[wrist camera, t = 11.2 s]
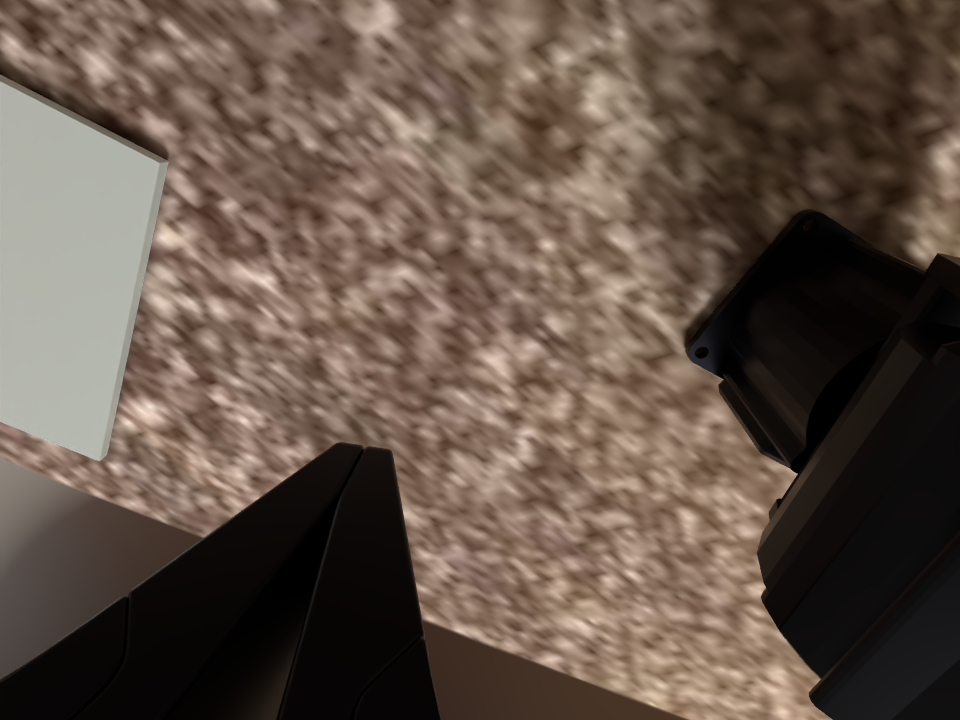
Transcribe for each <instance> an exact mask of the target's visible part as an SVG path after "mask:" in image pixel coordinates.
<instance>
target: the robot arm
mask: <svg viewBox="0 0 960 720" xmlns="http://www.w3.org/2000/svg"><path fill="white" fill-rule="evenodd" d="M811 219H813V225H812V227H811V228H810V229H809V230H807V231H803V226H804V225H805V223H806V222H807V221H809V220H811ZM700 347H705V350H704V351H703V352H702V353H699V354H696V353H695V352H696V350H697V349H698V348H700ZM685 351H686V354H687V356H688V357H689V359H690V360H691V361H692V362H693V363H695V364H697V365H699V366H700V367H702V368H704V369H706V370H708V371H709V372H711V373H713V374H715V375H717V376H719V377H720V378H722V379H724V380H723V381H722V382H721V383H720V384H719V385H718V386H719V393H720V394H721V396H722V397H723V399H724V400H725V402H726V403H727V405H728V406H729V408H730V409H731V411H732V412H733V414H734V415H735V416H736V418H737V419H738V421H739V422H740V424H741V425H742V427H743V428H744V430H745V431H746V433H747V434H748V436H749V437H750V439H751V440H752V442H753V443H754V445H755V446H756V448H757V449H758V451H759V452H760V453H761V454H763V455H765V456H767V457H769V458H771V459H773V460H775V461H776V462H778V463H780V464H782V465H784V466H786V467H788V468H790V469H791V470H792V471H793V472H795V473H797V474H798V475H797V476H796V478H795V479H794V481H793V482H792V484H791V485H790V487H789V488H788V490H787V491H786V493H785V495H784V496H783V498H782V499H777V500H776V501H775V503H774V505H773V506H772V508H771V509H770V511H769V519H770V522H769V523H768V525H767V526H766V528H765V529H764V531H763V533H762V536H761V540H760V543H759V547H758V551H757V555H758V560H759V564H760V569H761V573H762V578H763V582H764V584H765V586H766V589H765V590H764V591H763V593H762V596H761V598H762V602H763V604H764V606H765V607H766V609H767V611H768V612H769V614H770V616H771V618H772V619H773V621H774V623H775V624H776V626H777V628H778V629H779V631H780V632H781V634H782V635H783V637H784V638H785V639H786V641H787V642H788V643H789V644H790V645H791V647H792V648H793V649H794V650H795V652H796V653H797V654H798V655H799V657H800V658H801V659H802V660H803V662H804V663H805V664H806V665H807V666H808V667H809V668H810V669H811V670H812V671H813V672H814V673H815V674H816V675H817V676H818V677H819V678H820V679H821V680H820V681H819V682H818V683H817V684H816V685H815V686H814V688H813V689H812V690H811V691H810V692H809V697H810V700H811V702H812V703H813V704H814V705H815V706H816V707H817V708H818V709H819V710H821V711H822V712H823V713H825V714H826V715H827V716H829V717H830V718H831V719H833V720H960V258H959V257H954V256H949V255H945V254H940V253H937V255H936V256H935V258H934V259H933V261H932V263H931V264H930V266H929V267H928V269H927V270H925V269H922V268H920V267H918V266H915V265H913V264H911V263H909V262H906V261H904V260H902V259H900V258H897V257H895V256H893V255H891V254H888V253H886V252H884V251H882V250H879V249H877V248H875V247H874V246H872V245H871V244H869V243H867V242H866V241H864V240H863V239H861V238H860V237H858V236H857V235H855V234H854V233H852V232H851V231H849V230H847V229H846V228H844V227H843V226H841V225H840V224H838V223H837V222H835V221H834V220H832V219H831V218H829V217H827V216H826V215H824V214H823V213H820V212H818V211H815V210H812V209H807V210H803V211H801V212H799V213H798V214H797V215H795V216H794V217H793V219H792V220H791V221H790V222H789V223H788V225H787V226H786V227H785V228H784V229H783V230H782V232H781V233H780V234H779V235H778V236H777V238H776V239H775V240H774V241H773V242H772V244H771V245H770V246H769V247H768V248H767V249H766V251H765V252H764V253H763V254H762V255H761V257H760V258H759V259H758V260H757V261H756V263H755V264H754V265H753V266H752V267H751V268H750V270H749V271H748V272H747V273H746V274H745V276H744V277H743V278H742V279H741V280H740V281H739V283H738V284H737V285H736V286H735V287H734V289H733V290H732V291H731V292H730V293H729V295H728V296H727V297H726V298H725V299H724V300H723V302H722V303H721V304H720V305H719V306H718V308H717V309H716V310H715V311H714V312H713V314H712V315H711V316H710V317H709V318H708V319H707V321H706V322H705V323H704V324H703V325H702V327H701V328H700V329H699V330H698V331H697V333H696V334H695V335H694V336H693V337H692V338H691V340H690V341H689V342H688V344H687V345H686V349H685ZM424 636H425V634H424V628H423V622H422V617H421V611H420V605H419V600H418V594H417V588H416V583H415V577H414V571H413V566H412V560H411V554H410V549H409V543H408V537H407V532H406V526H405V520H404V515H403V509H402V503H401V498H400V492H399V486H398V481H397V475H396V470H395V464H394V458H393V453H392V451H391V450H389V449H384V448H377V447H371V446H369V447H366V448H365V449H364V447H363V446H362V445H357V444H351V443H344V442H339V443H336V444H334V445H333V446H332V447H330V448H329V449H327V450H326V451H325V452H323V453H322V454H320V455H319V456H318V457H316V458H315V459H313V460H312V461H311V462H309V463H308V464H306V465H305V466H304V467H302V468H301V469H299V470H298V471H297V472H295V473H294V474H292V475H291V476H290V477H288V478H287V479H285V480H284V481H283V482H281V483H280V484H278V485H277V486H276V487H274V488H273V489H272V490H270V491H269V492H267V493H266V494H265V495H263V496H262V497H260V498H259V499H258V500H256V501H255V502H253V503H252V504H251V505H249V506H248V507H246V508H245V509H244V510H242V511H241V512H239V513H238V514H237V515H235V516H234V517H232V518H231V519H230V520H228V521H227V522H225V523H224V524H223V525H221V526H220V527H218V528H217V529H216V530H214V531H213V532H211V533H210V534H209V535H207V536H206V537H204V538H203V539H202V540H200V541H199V542H197V543H196V544H195V545H193V546H192V547H191V548H189V549H188V550H187V551H185V552H184V553H182V554H181V555H179V556H178V557H177V558H175V559H174V560H172V561H171V562H170V563H168V564H167V565H165V566H164V567H163V568H161V569H160V570H158V571H157V572H156V573H154V574H153V575H152V576H150V577H149V578H147V579H146V580H144V581H143V582H142V583H140V584H139V585H137V586H136V587H135V588H133V589H132V590H131V591H130V592H129V595H128V597H127V596H122V597H120V598H119V599H117V600H116V601H115V602H113V603H112V604H110V605H109V606H108V607H106V608H105V609H103V610H102V611H101V612H99V613H98V614H97V615H95V616H94V617H93V618H91V619H90V620H88V621H87V622H85V623H84V624H82V625H81V626H79V627H78V628H77V629H75V630H73V631H72V632H71V633H69V634H68V635H66V636H65V637H64V638H62V639H61V640H59V641H57V642H56V643H55V644H53V645H52V646H50V647H49V648H47V649H46V650H45V651H43V652H42V653H40V654H39V655H37V656H36V657H34V658H33V659H31V660H30V661H28V662H26V663H25V664H23V665H22V666H20V667H19V668H17V669H15V670H14V671H12V672H11V673H9V674H8V675H6V676H5V677H3V678H1V679H0V720H442V718H441V714H440V709H439V704H438V699H437V695H436V690H435V685H434V681H433V676H432V671H431V666H430V661H429V655H428V649H427V643H426V640H425V639H424Z"/></svg>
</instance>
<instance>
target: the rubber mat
mask: <svg viewBox="0 0 960 720" xmlns="http://www.w3.org/2000/svg"><path fill="white" fill-rule="evenodd" d="M168 163H169V161H167V160H165V159H163V158H161V157H159V156H157V155H156V154H154V153H152V152H150V151H148V150H146V149H144V148H142V147H140V146H138V145H136V144H134V143H132V142H130V141H128V140H126V139H124V138H123V137H121V136H119V135H117V134H115V133H113V132H111V131H109V130H107V129H105V128H103V127H101V126H99V125H97V124H95V123H93V122H92V121H90V120H88V119H86V118H84V117H82V116H80V115H78V114H76V113H74V112H72V111H70V110H68V109H66V108H64V107H62V106H60V105H59V104H57V103H55V102H53V101H51V100H49V99H47V98H45V97H43V96H41V95H39V94H37V93H35V92H33V91H31V90H29V89H27V88H26V87H24V86H22V85H20V84H18V83H16V82H14V81H12V80H10V79H8V78H6V77H4V76H2V75H0V422H2V423H4V424H7V425H9V426H12V427H14V428H17V429H19V430H22V431H25V432H27V433H30V434H32V435H35V436H37V437H40V438H42V439H45V440H47V441H50V442H52V443H55V444H57V445H60V446H62V447H65V448H67V449H70V450H72V451H75V452H77V453H80V454H82V455H85V456H87V457H90V458H92V459H95V460H98V461H100V460H102V459H103V458H104V457H105V456H106V455H107V452H108V448H109V443H110V438H111V433H112V429H113V424H114V419H115V414H116V410H117V405H118V400H119V395H120V391H121V386H122V381H123V376H124V372H125V367H126V362H127V357H128V353H129V348H130V343H131V338H132V334H133V329H134V324H135V319H136V315H137V310H138V305H139V300H140V296H141V291H142V286H143V281H144V277H145V272H146V267H147V262H148V258H149V253H150V248H151V243H152V239H153V234H154V229H155V224H156V220H157V215H158V210H159V205H160V201H161V196H162V191H163V186H164V182H165V177H166V172H167V167H168Z"/></svg>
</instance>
